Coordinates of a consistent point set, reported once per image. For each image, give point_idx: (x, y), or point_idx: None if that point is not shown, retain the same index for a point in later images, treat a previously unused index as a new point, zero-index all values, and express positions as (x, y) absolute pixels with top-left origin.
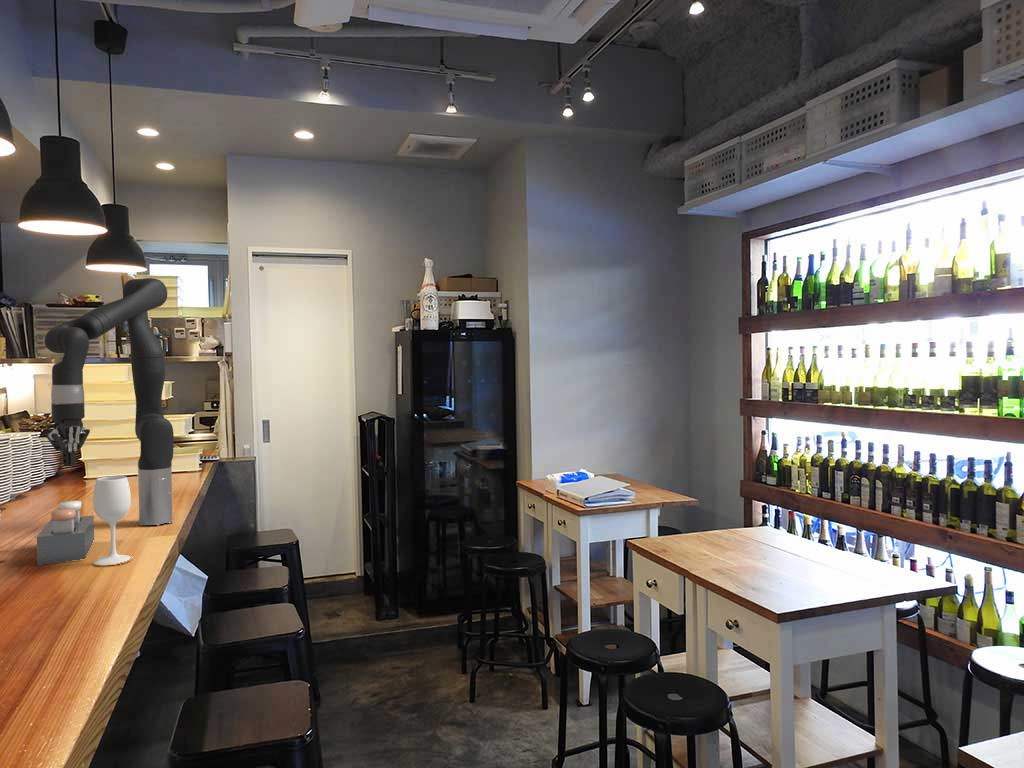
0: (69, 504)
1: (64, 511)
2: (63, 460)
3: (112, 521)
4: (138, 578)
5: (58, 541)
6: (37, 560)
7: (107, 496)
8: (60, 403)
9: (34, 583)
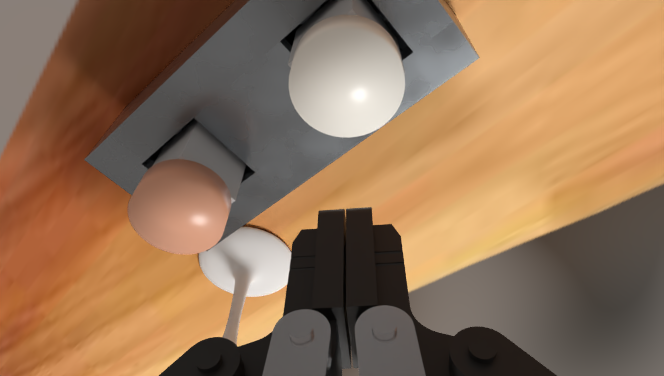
0: (306, 122)
1: (173, 228)
2: (290, 265)
3: None
4: None
5: None
6: (118, 116)
7: None
8: None
9: (33, 230)
